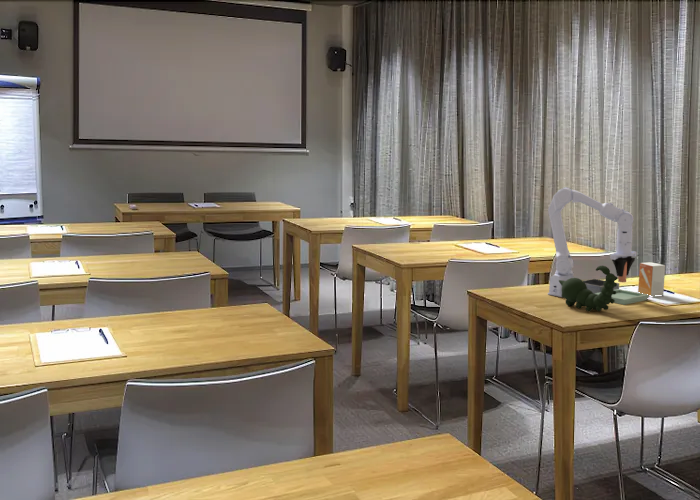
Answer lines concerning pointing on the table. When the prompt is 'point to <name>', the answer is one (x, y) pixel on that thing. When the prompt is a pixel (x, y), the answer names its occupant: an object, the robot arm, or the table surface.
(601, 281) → the grey square bin
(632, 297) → the tray
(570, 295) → the toy figurine
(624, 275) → the dowel
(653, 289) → the small box
